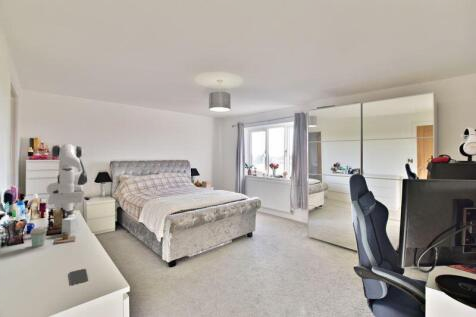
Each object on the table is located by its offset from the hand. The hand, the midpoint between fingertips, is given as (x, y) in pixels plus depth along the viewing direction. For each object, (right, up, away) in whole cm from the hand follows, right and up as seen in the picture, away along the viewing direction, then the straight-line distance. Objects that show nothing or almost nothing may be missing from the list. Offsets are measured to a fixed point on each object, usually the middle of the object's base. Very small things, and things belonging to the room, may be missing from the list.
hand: (66, 209), depth 161 cm
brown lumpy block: (-21, -23, +17) cm, 35 cm away
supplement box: (-8, -23, +14) cm, 28 cm away
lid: (0, -22, -1) cm, 22 cm away
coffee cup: (-9, -22, -12) cm, 27 cm away
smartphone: (+45, -22, -51) cm, 71 cm away
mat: (0, -23, -1) cm, 23 cm away
